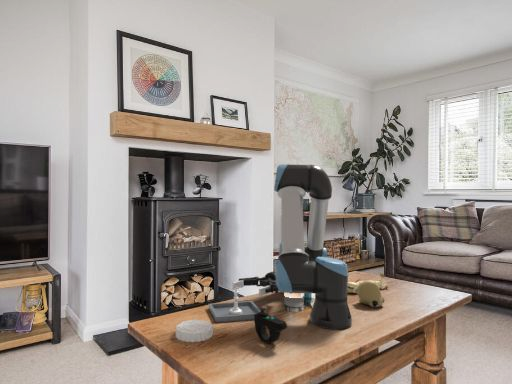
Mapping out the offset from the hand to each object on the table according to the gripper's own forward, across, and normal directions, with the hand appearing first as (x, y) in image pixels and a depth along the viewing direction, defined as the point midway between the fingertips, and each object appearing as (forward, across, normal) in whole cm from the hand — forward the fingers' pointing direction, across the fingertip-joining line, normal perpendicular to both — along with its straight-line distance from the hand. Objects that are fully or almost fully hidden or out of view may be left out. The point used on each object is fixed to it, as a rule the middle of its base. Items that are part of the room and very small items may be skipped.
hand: (246, 289), depth 147 cm
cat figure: (-61, -27, -9) cm, 67 cm away
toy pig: (-40, -37, -8) cm, 55 cm away
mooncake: (+31, -3, -8) cm, 33 cm away
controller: (+21, -26, -8) cm, 34 cm away
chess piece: (+7, 0, -8) cm, 10 cm away
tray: (+7, 0, -8) cm, 10 cm away
